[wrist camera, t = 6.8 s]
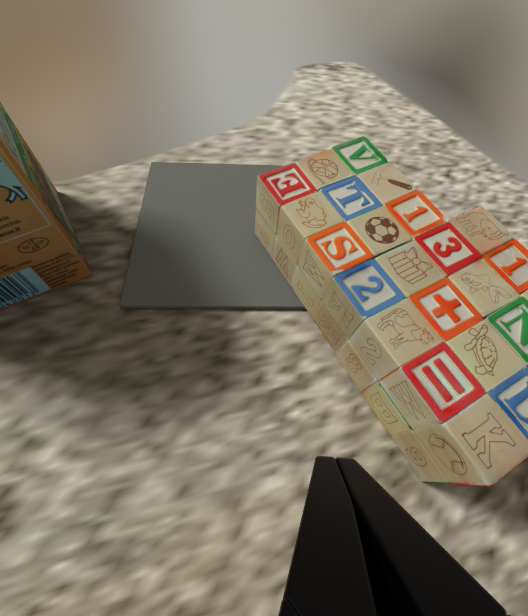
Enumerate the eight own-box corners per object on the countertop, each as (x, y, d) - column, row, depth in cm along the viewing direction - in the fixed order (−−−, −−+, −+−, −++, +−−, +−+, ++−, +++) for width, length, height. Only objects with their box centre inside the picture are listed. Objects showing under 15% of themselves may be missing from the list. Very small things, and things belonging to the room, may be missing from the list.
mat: (434, 309, 25) (437, 307, 25) (121, 308, 24) (119, 305, 24) (391, 172, 33) (393, 168, 33) (152, 165, 32) (151, 162, 31)
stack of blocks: (253, 172, 22) (394, 122, 25) (251, 233, 27) (366, 186, 30) (494, 491, 14) (653, 358, 17) (422, 485, 19) (552, 386, 23)
